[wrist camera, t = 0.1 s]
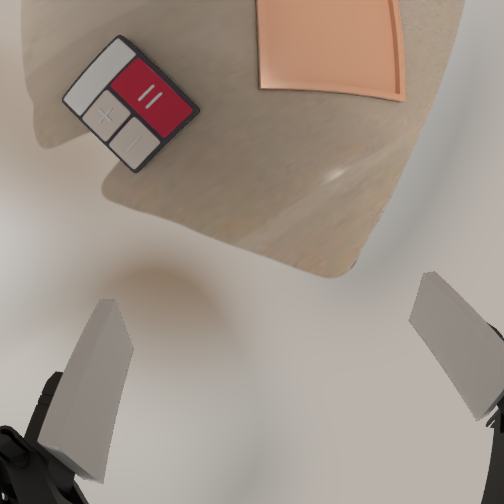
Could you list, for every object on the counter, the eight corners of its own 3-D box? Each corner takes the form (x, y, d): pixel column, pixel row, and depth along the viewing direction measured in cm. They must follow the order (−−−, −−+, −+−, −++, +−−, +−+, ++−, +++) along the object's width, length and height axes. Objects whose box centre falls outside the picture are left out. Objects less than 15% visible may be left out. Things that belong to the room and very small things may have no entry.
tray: (253, -36, 23) (255, -43, 21) (388, -13, 24) (394, -17, 22) (258, 89, 31) (261, 88, 30) (398, 101, 33) (405, 102, 31)
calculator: (133, 176, 32) (56, 100, 25) (141, 169, 35) (71, 99, 29) (200, 111, 29) (117, 31, 23) (201, 110, 33) (127, 38, 26)
